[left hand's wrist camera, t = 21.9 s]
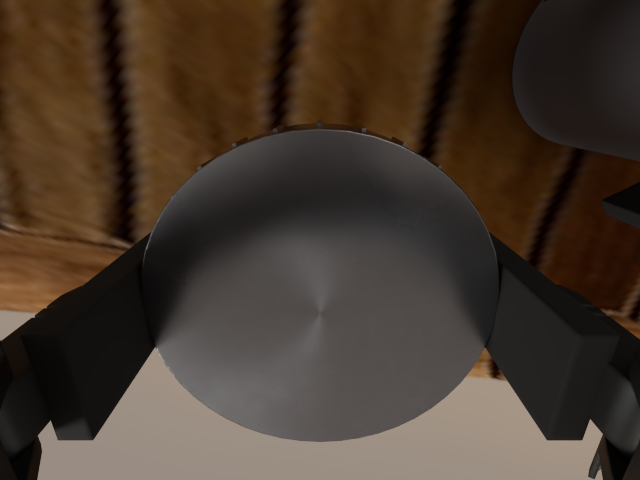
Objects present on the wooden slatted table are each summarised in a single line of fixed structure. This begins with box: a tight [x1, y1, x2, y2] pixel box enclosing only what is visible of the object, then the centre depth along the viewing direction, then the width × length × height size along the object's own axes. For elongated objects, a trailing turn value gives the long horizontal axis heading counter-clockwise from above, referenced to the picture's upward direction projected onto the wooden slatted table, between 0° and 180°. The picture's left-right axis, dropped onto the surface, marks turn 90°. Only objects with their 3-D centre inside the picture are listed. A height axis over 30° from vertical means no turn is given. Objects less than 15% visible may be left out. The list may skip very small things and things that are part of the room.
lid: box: [141, 120, 499, 442], centre depth 11 cm, size 10×10×2 cm
